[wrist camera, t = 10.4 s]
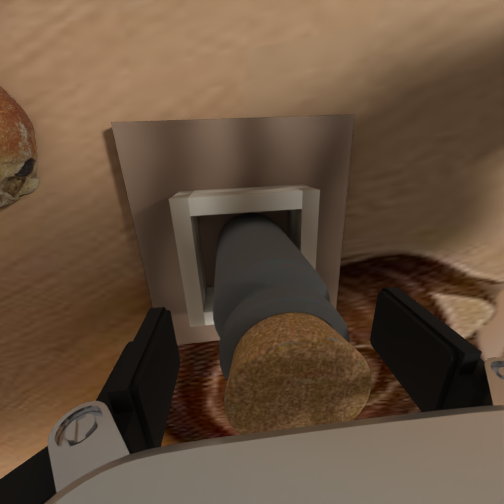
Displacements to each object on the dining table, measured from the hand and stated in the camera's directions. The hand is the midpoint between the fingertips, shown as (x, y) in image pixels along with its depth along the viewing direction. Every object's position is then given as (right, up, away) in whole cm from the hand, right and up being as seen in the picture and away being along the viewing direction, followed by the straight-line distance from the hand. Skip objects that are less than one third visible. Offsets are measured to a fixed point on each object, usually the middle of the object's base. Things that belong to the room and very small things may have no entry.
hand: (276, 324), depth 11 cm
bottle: (-1, +4, +11) cm, 12 cm away
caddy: (-2, +4, +12) cm, 13 cm away
